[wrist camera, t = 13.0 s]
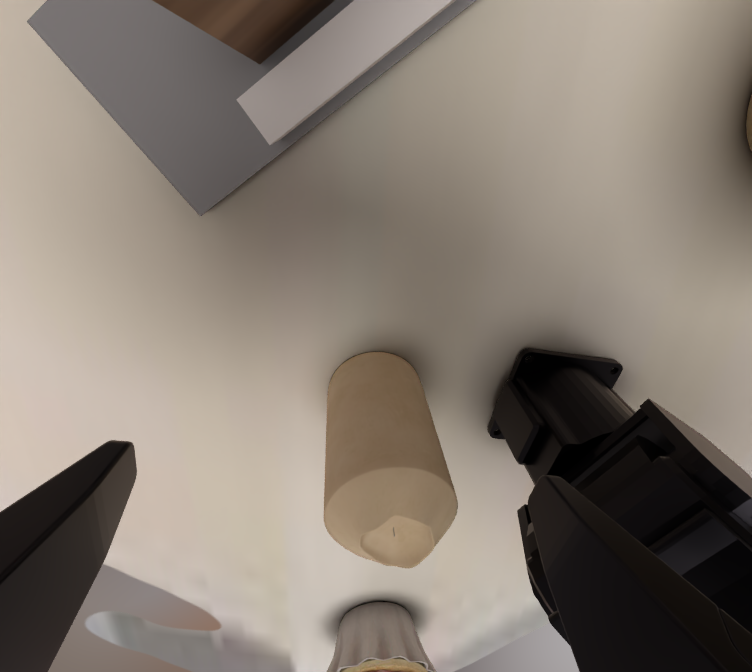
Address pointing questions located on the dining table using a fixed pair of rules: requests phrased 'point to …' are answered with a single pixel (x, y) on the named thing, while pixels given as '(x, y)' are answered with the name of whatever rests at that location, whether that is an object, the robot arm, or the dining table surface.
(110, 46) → the board
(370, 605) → the cupcake
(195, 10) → the door
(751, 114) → the plant pot
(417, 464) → the candle
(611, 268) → the dining table surface
